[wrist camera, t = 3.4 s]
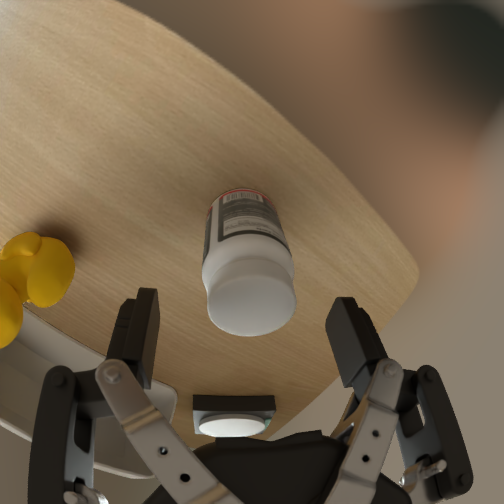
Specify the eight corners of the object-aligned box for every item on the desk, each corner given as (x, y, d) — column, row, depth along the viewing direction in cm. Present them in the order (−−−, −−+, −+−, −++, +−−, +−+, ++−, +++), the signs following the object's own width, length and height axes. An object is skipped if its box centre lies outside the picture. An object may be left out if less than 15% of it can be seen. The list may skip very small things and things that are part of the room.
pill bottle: (243, 258, 21) (253, 353, 14) (192, 222, 19) (177, 315, 12) (290, 215, 19) (325, 304, 13) (240, 171, 17) (251, 250, 10)
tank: (-3, 344, 27) (-28, 411, 17) (3, 291, 21) (-43, 384, 11) (129, 414, 39) (122, 480, 29) (179, 390, 33) (177, 479, 23)
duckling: (16, 281, 21) (-27, 360, 13) (-9, 237, 17) (-65, 313, 9) (99, 267, 21) (56, 372, 12) (72, 209, 17) (1, 309, 9)
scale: (274, 395, 35) (277, 415, 33) (261, 421, 42) (262, 438, 39) (193, 394, 34) (192, 415, 31) (195, 421, 40) (195, 438, 38)
